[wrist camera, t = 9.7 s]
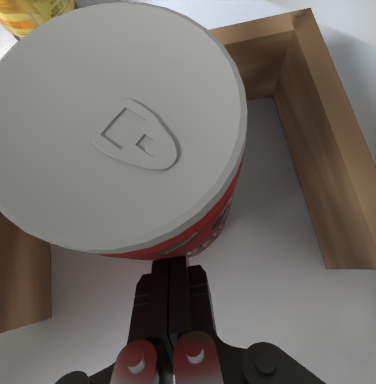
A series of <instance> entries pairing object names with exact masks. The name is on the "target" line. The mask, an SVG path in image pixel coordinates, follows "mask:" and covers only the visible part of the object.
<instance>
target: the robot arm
mask: <svg viewBox="0 0 376 384" xmlns="http://www.w3.org/2000/svg"><path fill="white" fill-rule="evenodd" d="M173 375H175V383H176V384H326V383H324V382H323V381H322V380H320V379H319V378H318V377H316V376H315V375H314V374H313V373H311V372H310V371H309V370H307V369H306V368H305V367H303V366H302V365H301V364H299V363H298V362H297V361H296V360H294V359H293V358H292V357H290V356H289V355H288V354H286V353H285V352H284V351H282V350H281V349H280V348H278V347H277V346H275V345H273V344H270V343H266V342H259V343H255V344H253V345H251V346H250V347H249V348H248V349H243V348H237V347H233V346H230V345H227V344H226V343H224V342H223V341H222V340H220V338H219V337H218V336H217V333H216V326H215V320H214V313H213V307H212V300H211V294H210V290H209V285H208V280H207V276H206V272H205V271H204V270H203V268H202V267H201V266H200V265H195V266H189V262H188V258H187V255H182V256H176V257H171V258H165V259H160V260H154V261H153V263H152V272H151V273H150V274H144V275H142V277H141V279H140V280H139V282H138V284H137V286H136V292H135V298H134V307H133V311H132V317H131V323H130V330H129V336H128V342H127V345H126V346H125V347H124V348H123V349H122V350H121V352H120V353H119V355H118V357H117V359H116V362H115V363H113V364H112V365H111V366H109V367H107V368H105V369H103V370H102V371H100V372H98V373H96V374H94V375H92V376H90V377H88V376H87V374H85V373H84V372H82V371H74V372H70V373H68V374H66V375H65V376H63V377H62V378H60V379H59V380H58V381H57V382H56V383H55V384H173Z"/></svg>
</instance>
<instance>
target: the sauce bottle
mask: <svg viewBox="0 0 376 384" xmlns="http://www.w3.org/2000/svg"><path fill="white" fill-rule="evenodd" d="M74 9H78V7H77V5H76V2H75V1H74V0H0V23H1V24H2V25H3V26H4V28H5V29H6V30H8V31H9V32H10V33H12V34H13V35H14V37H15V38H16V39H17V40H18V41H20V40H21V39H22V38H23V37H25V36H26V35H27V34H28V33H29V32H31V31H32V30H34V29H35V28H37V27H39V26H40V25H42V24H44V23H45V22H47V21H49V20H50V19H52V18H54V17H57V16H59V15H62V14H64V13H67V12H69V11H72V10H74Z"/></svg>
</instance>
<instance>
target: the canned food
mask: <svg viewBox="0 0 376 384" xmlns="http://www.w3.org/2000/svg"><path fill="white" fill-rule="evenodd" d="M247 114H248V111H247V103H246V95H245V87H244V85H243V82H242V79H241V77H240V74H239V71H238V68H237V66H236V64H235V62H234V61H233V59H232V58H231V56H230V55H229V53H228V52H227V50H226V49H225V47H224V46H223V45H222V44H221V43H220V42H219V41H218V40H217V39H216V38H215V37H214V36H213V35H212V34H211V33H210V32H209V31H208V30H207V29H206V28H204V27H203V26H201V25H200V24H198V23H197V22H195V21H194V20H192V19H190V18H189V17H187V16H185V15H182V14H180V13H178V12H175V11H173V10H170V9H168V8H165V7H160V6H156V5H151V4H147V3H138V2H121V1H120V2H110V3H99V4H94V5H90V6H86V7H82V8H78V9H74V10H72V11H69V12H67V13H64V14H62V15H59V16H57V17H54V18H52V19H50V20H49V21H47V22H45V23H44V24H42V25H40V26H39V27H37V28H35V29H34V30H32V31H31V32H29V33H28V34H27V35H26V36H25V37H23V38H22V39H21V40H20V41H18V42H17V43H16V44H15V45H14V46H13V47H12V48H11V49H10V50H9V51H8V52H7V53H6V54H5V56H4V57H3V58H2V59H1V60H0V212H1V213H2V214H3V215H4V216H5V217H6V218H8V219H9V220H10V221H11V222H13V223H14V224H15V225H17V226H18V227H19V228H21V229H22V230H23V231H25V232H26V233H29V234H31V235H33V236H35V237H37V238H40V239H42V240H44V241H46V242H49V243H51V244H55V245H58V246H60V247H62V248H65V249H70V250H75V251H80V252H85V253H90V254H97V255H103V256H108V257H119V258H130V259H140V260H151V261H154V260H160V259H165V258H171V257H176V256H182V255H187V258H190V257H192V256H195V255H197V254H199V253H200V252H202V251H203V250H205V249H206V248H207V247H209V246H210V245H211V244H212V242H213V241H214V240H215V239H216V238H217V237H218V235H219V233H220V232H221V230H222V228H223V227H224V224H225V221H226V218H227V215H228V211H229V207H230V204H231V200H232V197H233V193H234V190H235V186H236V183H237V179H238V175H239V172H240V168H241V165H242V158H243V154H244V150H245V144H246V134H247V124H248V123H247Z"/></svg>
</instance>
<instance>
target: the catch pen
mask: <svg viewBox="0 0 376 384" xmlns="http://www.w3.org/2000/svg"><path fill="white" fill-rule="evenodd" d="M208 31H209V32H210V33H211V34H212V35H213V36H214V37H215V38H216V39H217V40H218V41H219V42H220V43H221V44H222V45H223V46H224V47H225V49H226V50H227V52H228V53H229V55H230V56H231V58H232V59H233V61H234V62H235V64H236V66H237V68H238V71H239V74H240V77H241V79H242V82H243V85H244V87H245V95H246V100H251V99H256V98H261V97H266V96H271V95H272V96H273V99H274V102H275V105H276V108H277V112H278V115H279V118H280V121H281V124H282V128H283V131H284V134H285V137H286V140H287V144H288V147H289V150H290V153H291V156H292V160H293V163H294V166H295V169H296V172H297V175H298V179H299V182H300V185H301V188H302V191H303V195H304V198H305V201H306V204H307V207H308V211H309V214H310V217H311V220H312V223H313V227H314V230H315V233H316V236H317V239H318V243H319V246H320V249H321V252H322V255H323V259H324V262H325V265H326V268H327V269H376V167H375V164H374V162H373V159H372V157H371V155H370V152H369V150H368V147H367V145H366V142H365V140H364V137H363V135H362V133H361V130H360V128H359V125H358V123H357V120H356V118H355V115H354V113H353V111H352V108H351V106H350V103H349V101H348V98H347V96H346V93H345V91H344V89H343V86H342V84H341V81H340V79H339V76H338V74H337V71H336V69H335V67H334V64H333V62H332V59H331V57H330V54H329V52H328V49H327V47H326V45H325V42H324V40H323V37H322V35H321V32H320V30H319V27H318V25H317V23H316V20H315V18H314V15H313V13H312V10H311V8H307V9H303V10H298V11H294V12H289V13H284V14H280V15H275V16H271V17H266V18H262V19H257V20H252V21H248V22H243V23H239V24H234V25H230V26H225V27H220V28H216V29H211V30H208ZM48 318H51V265H50V243H49V242H46V241H44V240H42V239H40V238H37V237H35V236H33V235H31V234H29V233H26V232H25V231H23V230H22V229H21V228H19V227H18V226H17V225H15V224H14V223H13V222H11V221H10V220H9V219H8V218H6V217H5V216H4V215H3V214H2V213H1V212H0V333H2V332H6V331H9V330H12V329H15V328H19V327H22V326H25V325H29V324H32V323H35V322H38V321H42V320H45V319H48Z"/></svg>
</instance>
